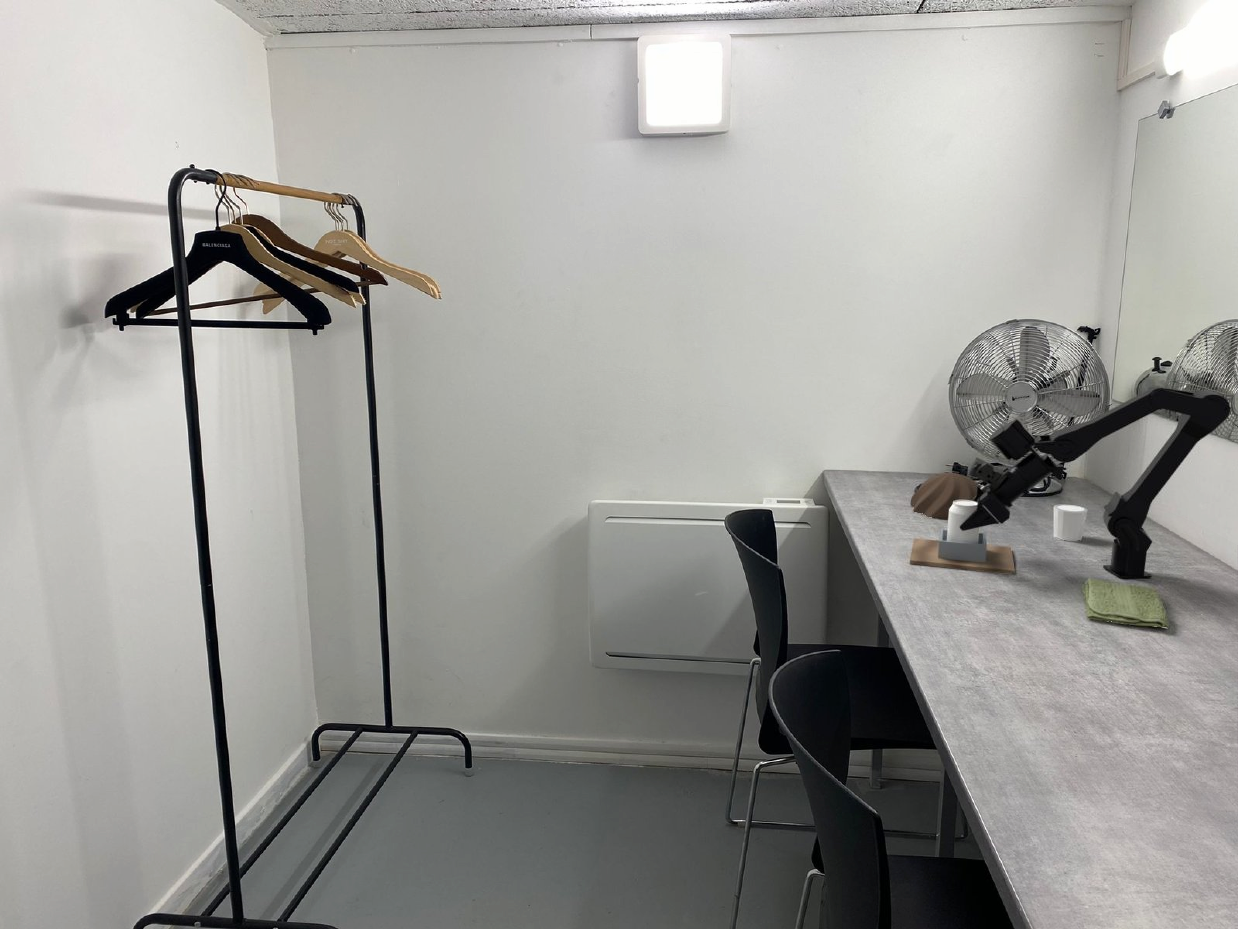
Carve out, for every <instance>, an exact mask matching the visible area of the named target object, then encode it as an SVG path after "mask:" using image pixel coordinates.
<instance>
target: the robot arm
mask: <svg viewBox="0 0 1238 929" xmlns="http://www.w3.org/2000/svg"><path fill="white" fill-rule="evenodd" d="M1158 410H1167V411H1170V412H1175V413H1177V414H1180V416H1179V419H1178V422H1177V426H1176V428H1175V429H1174V431H1173V432H1172V433H1171V435H1170V436H1169V438H1168V439H1167V440H1166V441H1165V443H1164V444H1163V446H1162V447H1161V449H1160V450H1159V451H1158V452H1157V453H1156V454H1155V456H1154V457H1153V459H1152V461H1151V462H1150V463H1149V464H1148V465H1147V467H1146V469H1144V471H1143V473H1141V475H1140V477H1139V478H1138V479H1137V481H1136V482H1135V483H1134V485H1133V486H1132V487H1131V488H1130V489H1129V490H1128V491H1126V492H1124V493H1123V494H1122V495H1121V494H1120V493H1119V492H1117V491H1115V492H1114V493H1113V494H1112V497H1111V498H1110V500H1109V502H1108V503H1107V504H1104V505H1103V507H1102V508H1103V509H1104V512H1103V515H1102V520H1103V523H1104V525H1105V527H1106V528H1107V530H1108V532H1109V533H1110V535H1111V536H1113V543H1112V550H1111V558H1110V564H1104V565H1102V568H1103V569H1104V570H1106V571H1108V572H1109V573H1111V575H1114V576H1116V577H1117V578H1120V579H1139V578H1140V579H1143V578H1144V579H1145V578H1147V579H1149V578H1152V574H1151V573H1149V572H1147V571H1146V564H1147V562H1146V561H1147V554H1148V550H1149V549H1150V547H1151V545H1152V544H1153V541H1152V539H1151V537H1150V536H1149V534H1148V533H1147V532H1146V530H1145V528H1143V526H1144V524H1145V521H1146V520H1147V517H1148V514H1149V511H1150V508H1151V506H1152V503H1153V501H1154V500H1155V499H1156V497H1157V496H1158V495H1159V493H1160V492H1161V490H1163V488H1164V487H1165V485H1166V484H1167V483H1168V482H1169V480H1170V479H1171V477H1172V476H1173V475H1174V474H1175V472H1176V471H1177V470H1178V469H1179V467H1180V465H1182V463H1183V462H1184V460H1185V459H1186V458H1187V457H1188V455H1189V454H1190V453H1191V452H1192V450H1193V449H1194V448H1195V446H1196V445H1197V444H1198V443H1199V442H1200V441H1201V440H1202V439H1204V438H1205V437H1207V436H1208V435H1210V434H1211V433H1213V432H1214V431H1215V430H1216V429H1217V428H1218V427H1219V426H1220V425H1222V424H1223V422H1225V421H1227V419H1228V417H1229V416H1230V413H1231V405H1230V402H1229V401H1228V400H1227V398H1225V396H1223V395H1220V394H1219V393H1217V392H1215V391H1211V390H1209V389H1208V390H1204V389H1203V390H1198V391H1195V392H1192V391H1188V390H1187V391H1186V390H1182V389H1181V390H1180V389H1173V388H1167V387H1164V386H1161V385H1154V386H1150V387H1148V389H1146V390H1145V391H1144V392H1141V393H1140V394H1138V395H1136V396H1134V397H1132V398H1130V399H1129V400H1125V401H1124V402H1122V403H1121V404H1119V405H1117V406H1115V407H1113V408H1111V409H1109V410H1107V411H1105V412H1103V413H1102V414H1099V415H1097V416H1096V417H1093V418H1092V419H1090V420H1088V421H1084V422H1080V423H1076V424H1072V425H1069V426H1066V427H1063V428H1060V429H1057V430H1055V431H1053V432H1052V433H1051V434H1040V435H1032V433H1030V432H1029V431H1028V429H1026V428H1025V426H1024V425H1023V423H1022V422H1021V421H1020V420H1019V419H1018V418H1015V419H1013V420H1012V421H1010V422H1007V423H1006V424H1005V425H1001V426H1000V427H999V428H998V429H996V431H994V432H993V433H992V434H991V435H990V436H989V438H988V441H989V442H990V443H991V444H992V445H993V446H994V447H995V448H996V449H997V450H998V451H999V452H1000V453H1001V455H1003V456H1004V457H1005V459H1006V460H1008V461H1009V460H1011V459H1012V460H1013V461H1018V462H1016V463H1015V464H1014V465H1012V466H1011V467H1010V466H1005V467H1004V468H1002V469H1000V468H998V467H996V466H995V465H993V464H991V463H989V462H988V461H985V460H983V459H981V458H979V457H975V459H974V461H973V463H972V464H971V465H970V467H969V469H968V471H967V472H968V475H970V476H971V477H973V478H976V479H979V480H978V484H977V494H976V496H975V497H974V498H973V500H972V501H974V502H977V508H976V510H975V511H974V512H973V513H972V514H971V515H970V516H969V517H968V518H967V519H966V520H965V521H964V522H963V523H962V524H961V525H960V529H961V530H962V531H965V530H969V529H974V528H978V527H980V528H982V527H987V526H992V525H995V524H996V525H999V524H1003V523H1005V522H1006V521H1007V520H1009V519H1010V517H1011V516H1010V515H1011V511H1010V508H1011V507H1012V506H1014V504H1013V503H1015V502H1016V501H1017V500H1018V499H1020V498H1021V497H1022V496H1023V495H1024V496H1028V494H1030V493H1031V492H1030V490H1031V489H1033V488H1034V487H1036V486H1037V485H1039V483H1041V482H1043V481H1044V480H1046V478H1048V477H1049V476H1050V475H1053V476H1054V477H1055V478H1056V479H1057V480H1058V481H1062V479H1063V472H1064V470H1065V467H1064V465H1063V464H1064V463H1065V464H1069V463H1071V462H1075V461H1076V460H1077V459H1078V458H1080V457H1081V456H1082V455H1083V454H1086V452H1088V451H1089V450H1091V449H1092V447H1094V446H1095V445H1096V444H1097V443H1098V442H1100V441H1101V440H1102V439H1104V438H1106V437H1108V436H1110V435H1112V434H1114V433H1116V432H1118V431H1120V430H1122V429H1124V428H1125V427H1127V426H1130V425H1131V424H1133V423H1135V422H1137V421H1139V420H1141V419H1143V418H1145V417H1147V416H1149V415H1151V414H1152V413H1155V412H1157V411H1158ZM1033 446H1034V447H1035V448H1034V447H1033ZM1036 449H1037V450H1038V451H1037V450H1036ZM1028 453H1029V454H1028ZM1040 453H1041V454H1040ZM1042 454H1043V455H1042ZM1049 455H1050V456H1049ZM1051 457H1052V458H1053V459H1054V460H1056V461H1058V462H1060V463H1063V464H1058V463H1055V461H1053V459H1051Z"/></svg>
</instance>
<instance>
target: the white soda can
mask: <svg viewBox="0 0 1238 929" xmlns="http://www.w3.org/2000/svg"><path fill="white" fill-rule="evenodd" d="M976 508H977V502H974V501H970V500H955V501H953V504H952V506H951V507H950V509H949V518H948V520H947V530H948V532H947V541H954V542H965V543H976V544H978V540H979V532H980V528H981V527H978V528H974V529H969V530H965V531H962V530H961V529H960V525H961V524H962V523H963V522H964V521H965V520H966V519H967V518H968V517H969V516H970V515H971V514H972V513H973V512H974V511H975V510H976Z"/></svg>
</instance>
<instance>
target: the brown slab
mask: <svg viewBox="0 0 1238 929" xmlns="http://www.w3.org/2000/svg"><path fill="white" fill-rule="evenodd" d="M912 543H913V544H912V547H911V552H910V558H909V564H911V565H919V566H927V565H928V567H936V568H937V567H938V568H948V569H956V568H957V570H967V571H979V572H987V573H996V574H997V573H998V574H1005V575H1007V574H1008V575H1015V571H1016V570H1015V565H1014V564H1015V563H1014V557H1013V550H1012V547H1011V546H1000V545H990V544H987V548H986V560H985V562H975V561H964V560H954V559H944V558H938V550H939V539H938V540H936V539H926V538H924V539H923V538H915V537H914V538H913V542H912Z"/></svg>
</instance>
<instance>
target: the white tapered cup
mask: <svg viewBox="0 0 1238 929" xmlns="http://www.w3.org/2000/svg"><path fill="white" fill-rule="evenodd" d="M1087 515H1088V509H1087V508H1086V507H1083V506H1079V505H1074V504H1065V503H1064V504H1063V503H1062V504H1055V505H1054V506H1053V537H1054V538H1055V537H1057V538H1059V539H1058V540H1060V539H1062V540H1061V541H1064V540H1067V541H1066V542H1079V541H1078V540H1080V541H1081V540H1082V538H1083V535H1084V529H1085V524H1086V520H1087ZM1057 538H1056V539H1057Z"/></svg>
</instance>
